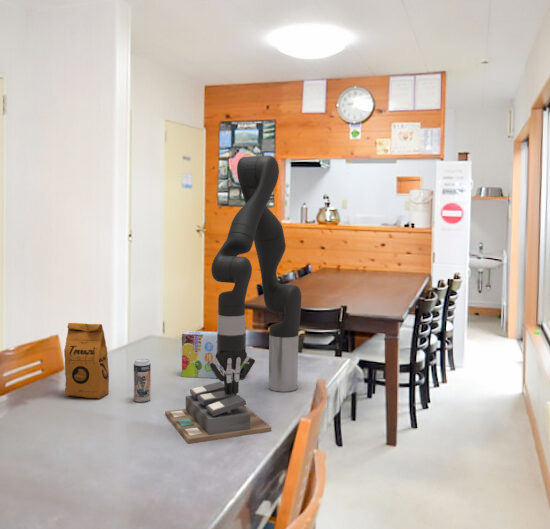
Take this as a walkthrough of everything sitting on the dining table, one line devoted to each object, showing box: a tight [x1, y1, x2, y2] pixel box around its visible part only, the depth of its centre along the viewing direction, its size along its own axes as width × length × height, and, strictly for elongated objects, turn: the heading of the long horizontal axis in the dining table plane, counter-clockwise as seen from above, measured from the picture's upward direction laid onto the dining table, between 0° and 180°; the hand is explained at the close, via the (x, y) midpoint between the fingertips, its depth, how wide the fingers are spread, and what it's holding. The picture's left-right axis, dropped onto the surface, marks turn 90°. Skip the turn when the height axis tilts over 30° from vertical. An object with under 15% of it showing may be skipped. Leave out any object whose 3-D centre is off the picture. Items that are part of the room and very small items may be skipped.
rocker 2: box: [197, 391, 236, 405], centre depth 160 cm, size 5×9×2 cm, turn 115°
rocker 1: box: [189, 381, 224, 399], centre depth 166 cm, size 5×9×2 cm, turn 115°
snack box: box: [181, 330, 247, 380], centre depth 205 cm, size 21×6×15 cm, turn 84°
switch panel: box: [164, 394, 272, 445], centre depth 160 cm, size 22×22×5 cm
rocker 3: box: [206, 394, 247, 416], centre depth 154 cm, size 5×9×2 cm, turn 115°
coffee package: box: [63, 322, 110, 400], centre depth 181 cm, size 10×12×22 cm
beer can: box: [133, 358, 152, 403], centre depth 178 cm, size 5×5×12 cm
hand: (231, 395), depth 162 cm, fingers closed
